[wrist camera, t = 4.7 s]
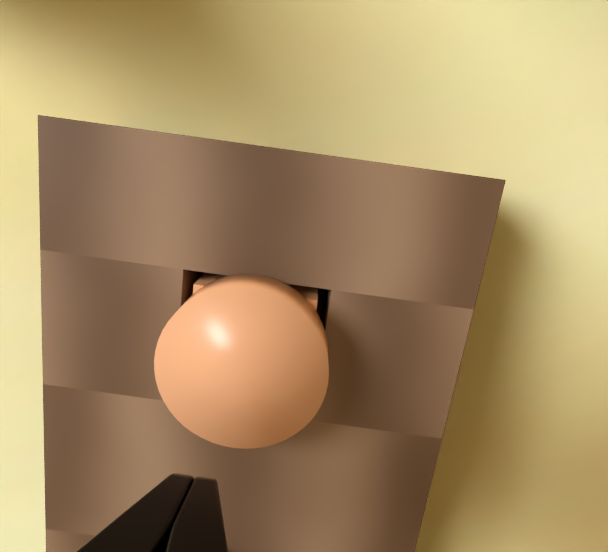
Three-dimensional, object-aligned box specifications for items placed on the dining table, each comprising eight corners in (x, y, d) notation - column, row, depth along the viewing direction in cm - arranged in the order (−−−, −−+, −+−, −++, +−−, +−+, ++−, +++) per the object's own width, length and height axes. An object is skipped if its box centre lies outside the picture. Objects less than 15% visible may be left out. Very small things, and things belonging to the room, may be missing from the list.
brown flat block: (455, 174, 18) (505, 180, 13) (358, 622, 24) (368, 738, 19) (112, 126, 18) (38, 115, 13) (102, 588, 24) (48, 695, 19)
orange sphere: (334, 259, 18) (341, 301, 13) (316, 377, 19) (315, 459, 14) (205, 241, 18) (158, 276, 13) (195, 360, 19) (149, 436, 14)
